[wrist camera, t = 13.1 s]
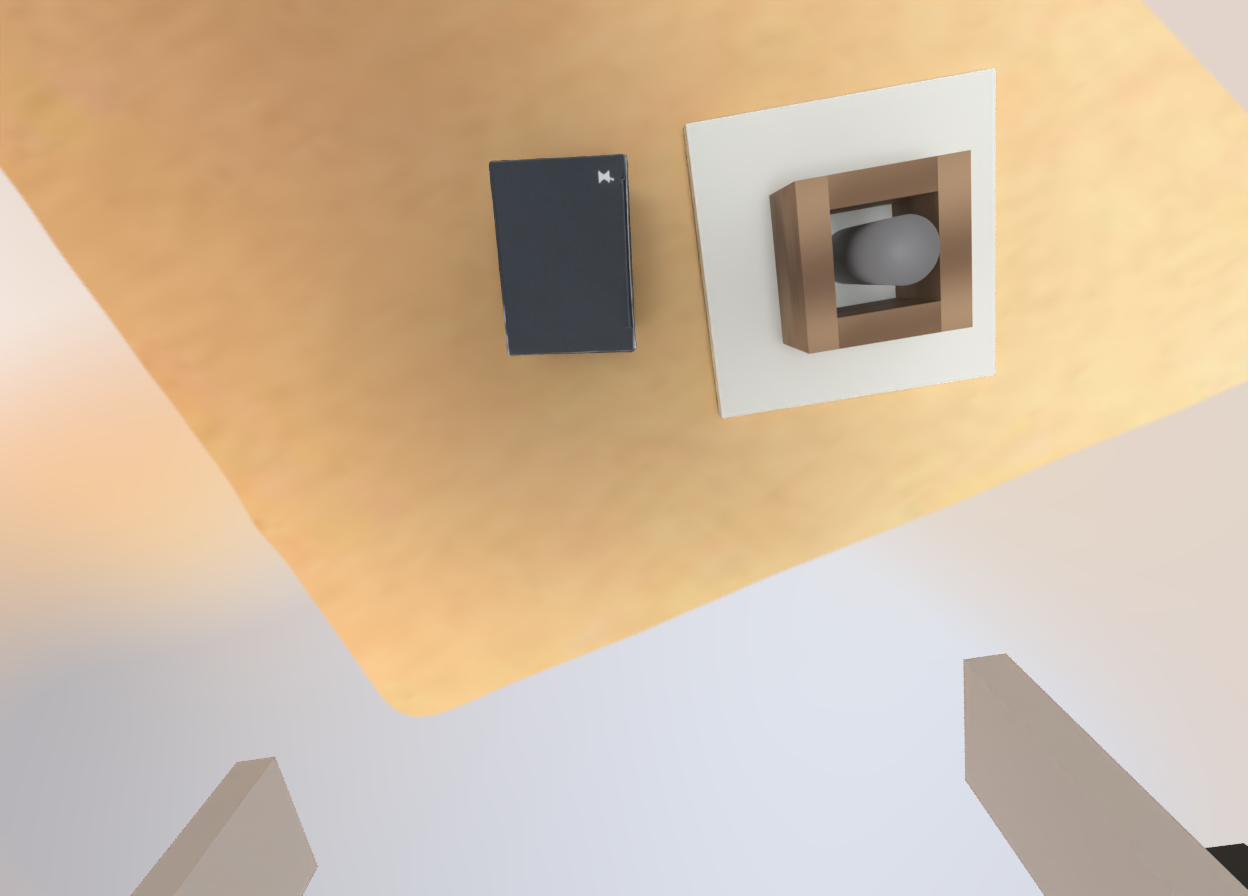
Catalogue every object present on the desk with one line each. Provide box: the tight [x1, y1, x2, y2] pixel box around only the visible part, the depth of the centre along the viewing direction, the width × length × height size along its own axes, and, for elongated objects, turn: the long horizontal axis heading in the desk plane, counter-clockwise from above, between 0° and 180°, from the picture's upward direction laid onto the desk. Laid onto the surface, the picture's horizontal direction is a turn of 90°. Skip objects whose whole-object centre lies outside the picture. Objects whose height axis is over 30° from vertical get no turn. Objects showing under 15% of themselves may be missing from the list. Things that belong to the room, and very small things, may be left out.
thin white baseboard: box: [684, 68, 996, 419], centre depth 31 cm, size 16×16×8 cm
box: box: [489, 154, 637, 356], centre depth 30 cm, size 8×6×11 cm
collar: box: [769, 150, 973, 354], centre depth 31 cm, size 8×8×5 cm
